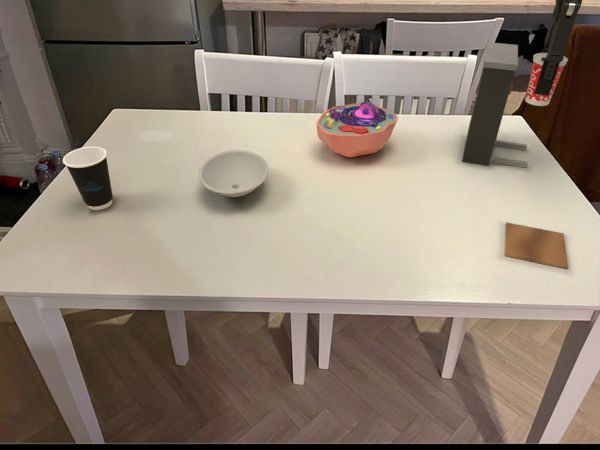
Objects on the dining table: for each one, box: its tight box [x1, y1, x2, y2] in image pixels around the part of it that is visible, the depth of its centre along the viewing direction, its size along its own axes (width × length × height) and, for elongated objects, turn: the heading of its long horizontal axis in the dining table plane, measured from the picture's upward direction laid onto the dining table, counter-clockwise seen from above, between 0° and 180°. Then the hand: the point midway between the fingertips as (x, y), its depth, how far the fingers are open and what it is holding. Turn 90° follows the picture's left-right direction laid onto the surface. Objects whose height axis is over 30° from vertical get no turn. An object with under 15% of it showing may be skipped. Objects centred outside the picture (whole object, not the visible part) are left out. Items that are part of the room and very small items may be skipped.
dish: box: [198, 149, 270, 198], centre depth 97 cm, size 18×14×5 cm
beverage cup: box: [524, 52, 569, 107], centre depth 91 cm, size 6×6×14 cm
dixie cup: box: [62, 146, 114, 211], centre depth 92 cm, size 8×8×11 cm
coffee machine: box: [461, 42, 529, 169], centre depth 104 cm, size 14×14×23 cm
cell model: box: [316, 101, 399, 158], centre depth 109 cm, size 17×20×11 cm
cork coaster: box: [504, 221, 569, 270], centre depth 83 cm, size 10×10×1 cm
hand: (541, 87), depth 94 cm, fingers closed on beverage cup, 6 cm apart
